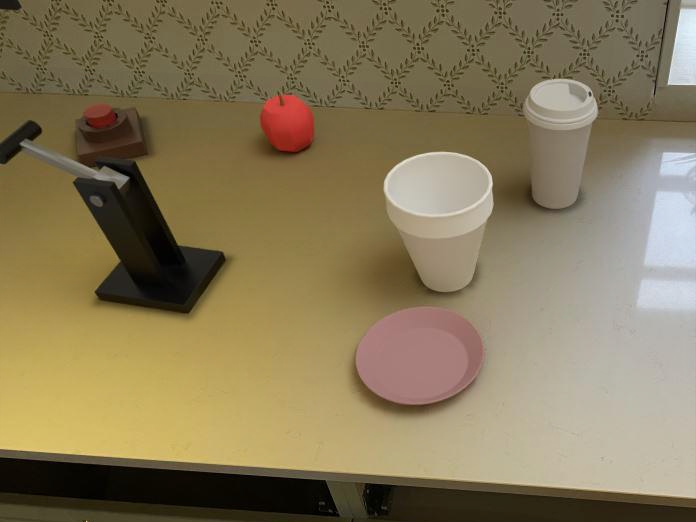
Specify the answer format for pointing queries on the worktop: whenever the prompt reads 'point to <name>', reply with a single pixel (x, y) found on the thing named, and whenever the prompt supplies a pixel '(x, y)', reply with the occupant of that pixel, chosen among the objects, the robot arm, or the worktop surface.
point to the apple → (287, 123)
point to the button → (100, 115)
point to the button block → (111, 138)
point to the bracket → (144, 245)
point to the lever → (55, 157)
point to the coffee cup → (558, 139)
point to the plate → (420, 355)
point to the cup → (440, 214)
